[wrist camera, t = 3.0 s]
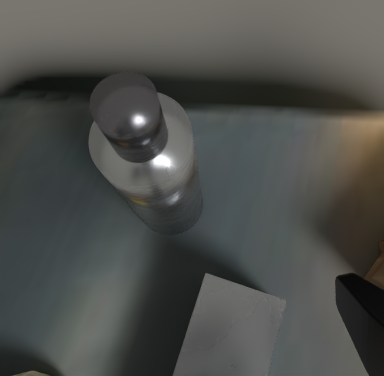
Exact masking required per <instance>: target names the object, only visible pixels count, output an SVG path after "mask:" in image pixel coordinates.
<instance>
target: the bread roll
mask: <svg viewBox="0 0 384 376" xmlns="http://www.w3.org/2000/svg"><path fill="white" fill-rule="evenodd" d="M13 376H50V375H47V374H44V373H39V372H37V371H29V372H25V373H21V374H17V375H13Z"/></svg>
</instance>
